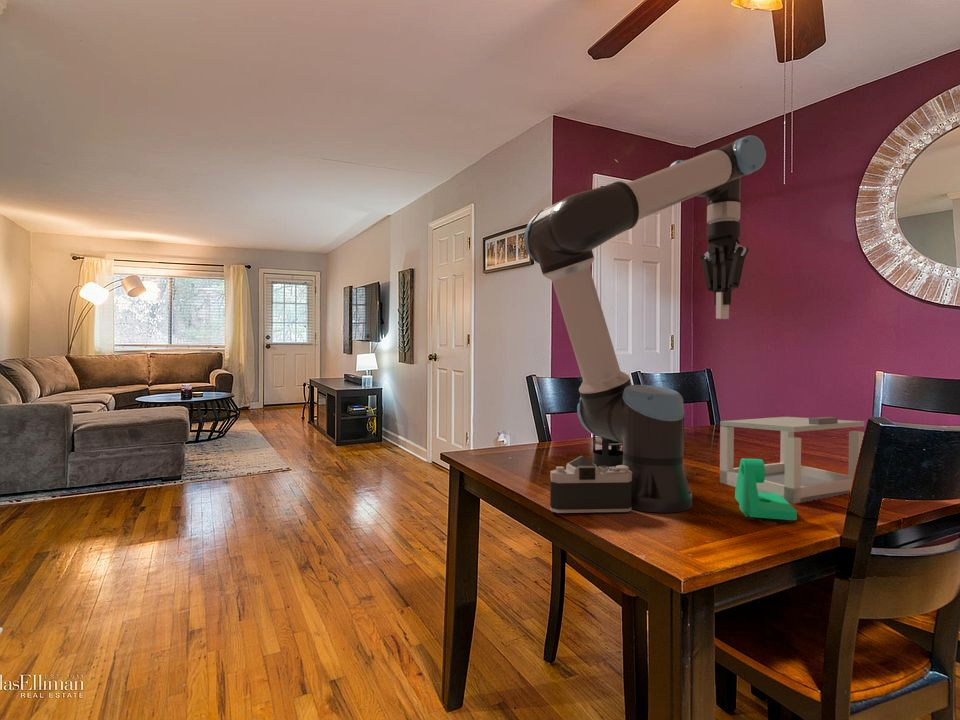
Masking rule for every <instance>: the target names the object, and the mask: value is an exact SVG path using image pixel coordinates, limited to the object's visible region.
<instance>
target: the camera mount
mask: <svg viewBox="0 0 960 720" xmlns="http://www.w3.org/2000/svg"><path fill="white" fill-rule="evenodd" d="M764 464H765V463H764V460H763V459H762V458H761V459H760V458H744V457H742V458H740V461H739V472H738V478H737V483H736V487H735V489H734V499H735V500H736V501H737V503H738V504H739V510H740V511H741V513H742V514H743V516H744V517H745V518H761V519H774V520H784V521H785V520H787V521H788V520H789V521H796V520H798V514H797V513H798V510H797V509H796V508H795V507H794V506H793V505H791V503H789V502H787V501H786V500H785V499H783V498H782V497H781V496H780V495H779V494H775V493H763V492H758V491H757V484H756V483H763V482H764V480H765V466H764Z"/></svg>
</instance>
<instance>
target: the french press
mask: <svg viewBox="0 0 960 720" xmlns="http://www.w3.org/2000/svg"><path fill="white" fill-rule="evenodd" d="M596 445H599V446H601V448H599V449H596ZM621 446H623V443H621V442H617V441H613V440H610V439H603V438H601V437H599V438H596V435H594V434H592V461H591V462H592V463H593V464H595V465H596V466H597V468H599V466H607V467H608V469H609V467H616V466H618V465H622V464H623V450H620V447H621Z"/></svg>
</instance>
